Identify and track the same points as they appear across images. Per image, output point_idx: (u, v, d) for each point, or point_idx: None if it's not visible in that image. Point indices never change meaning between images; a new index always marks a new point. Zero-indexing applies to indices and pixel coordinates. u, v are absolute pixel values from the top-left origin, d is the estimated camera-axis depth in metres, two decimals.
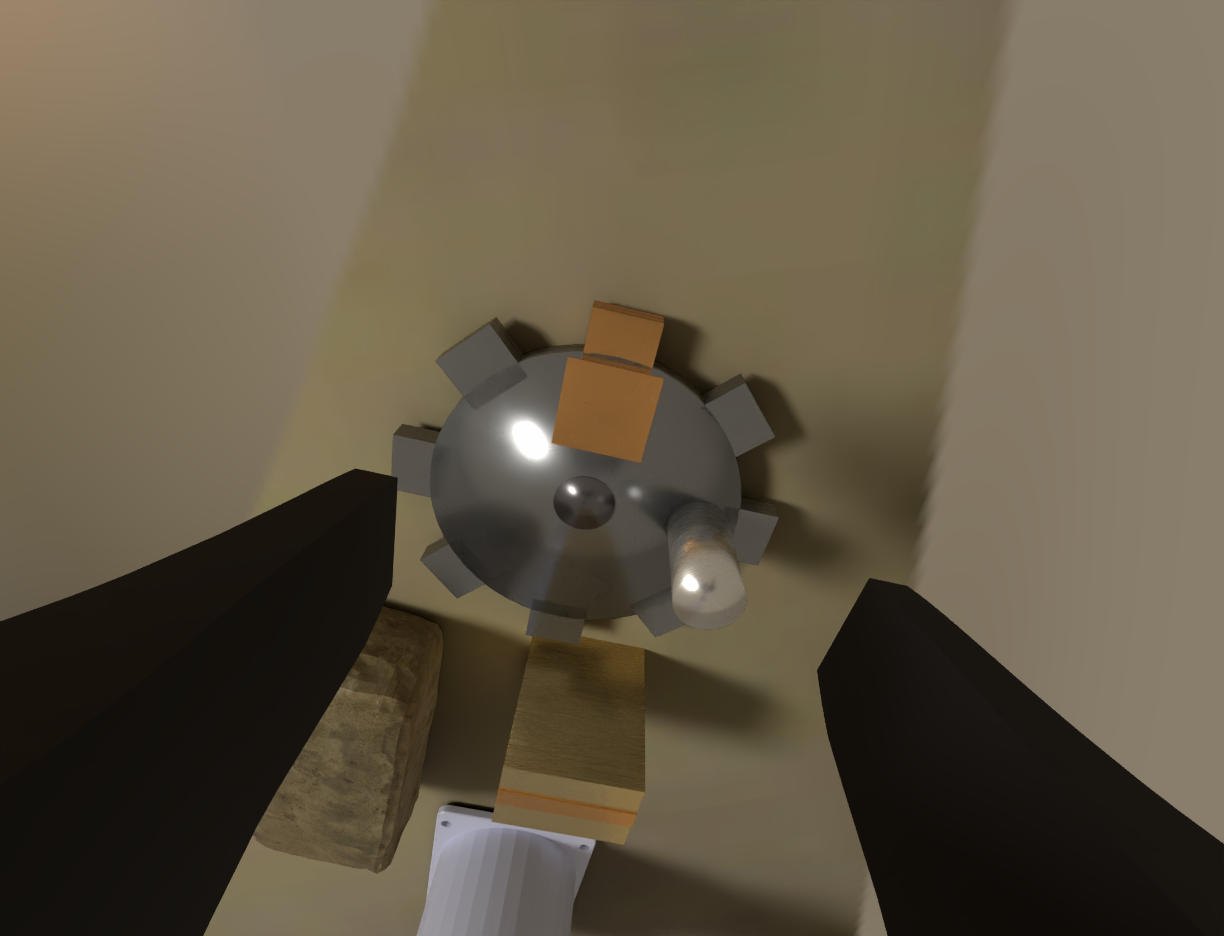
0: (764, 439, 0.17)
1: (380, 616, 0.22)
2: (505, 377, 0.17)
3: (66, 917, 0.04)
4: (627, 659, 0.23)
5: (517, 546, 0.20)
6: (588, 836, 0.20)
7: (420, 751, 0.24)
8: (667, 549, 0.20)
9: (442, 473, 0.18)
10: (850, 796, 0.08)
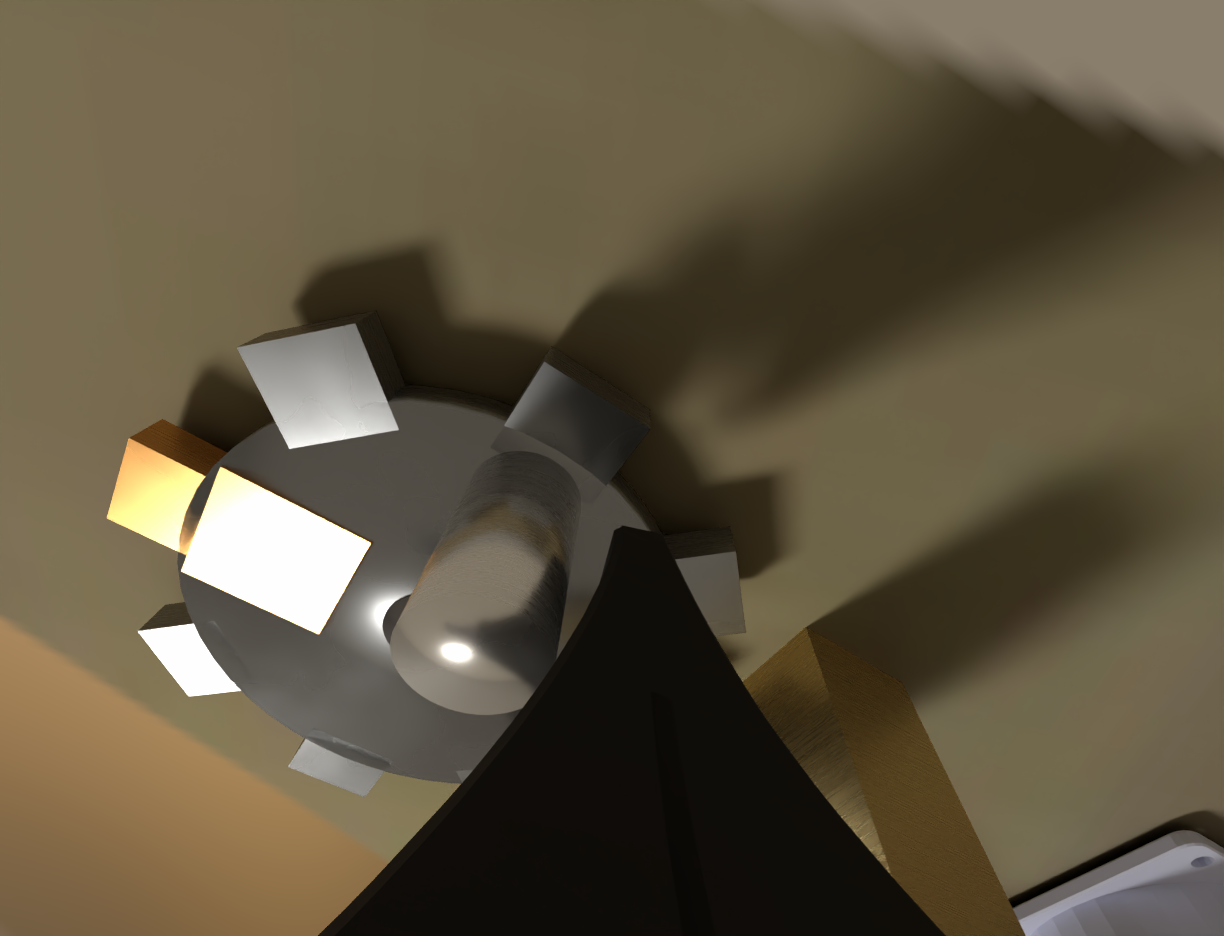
0: (355, 344, 0.09)
1: None
2: (214, 643, 0.12)
3: None
4: (792, 670, 0.13)
5: (488, 725, 0.13)
6: None
7: None
8: None
9: (350, 749, 0.14)
10: None
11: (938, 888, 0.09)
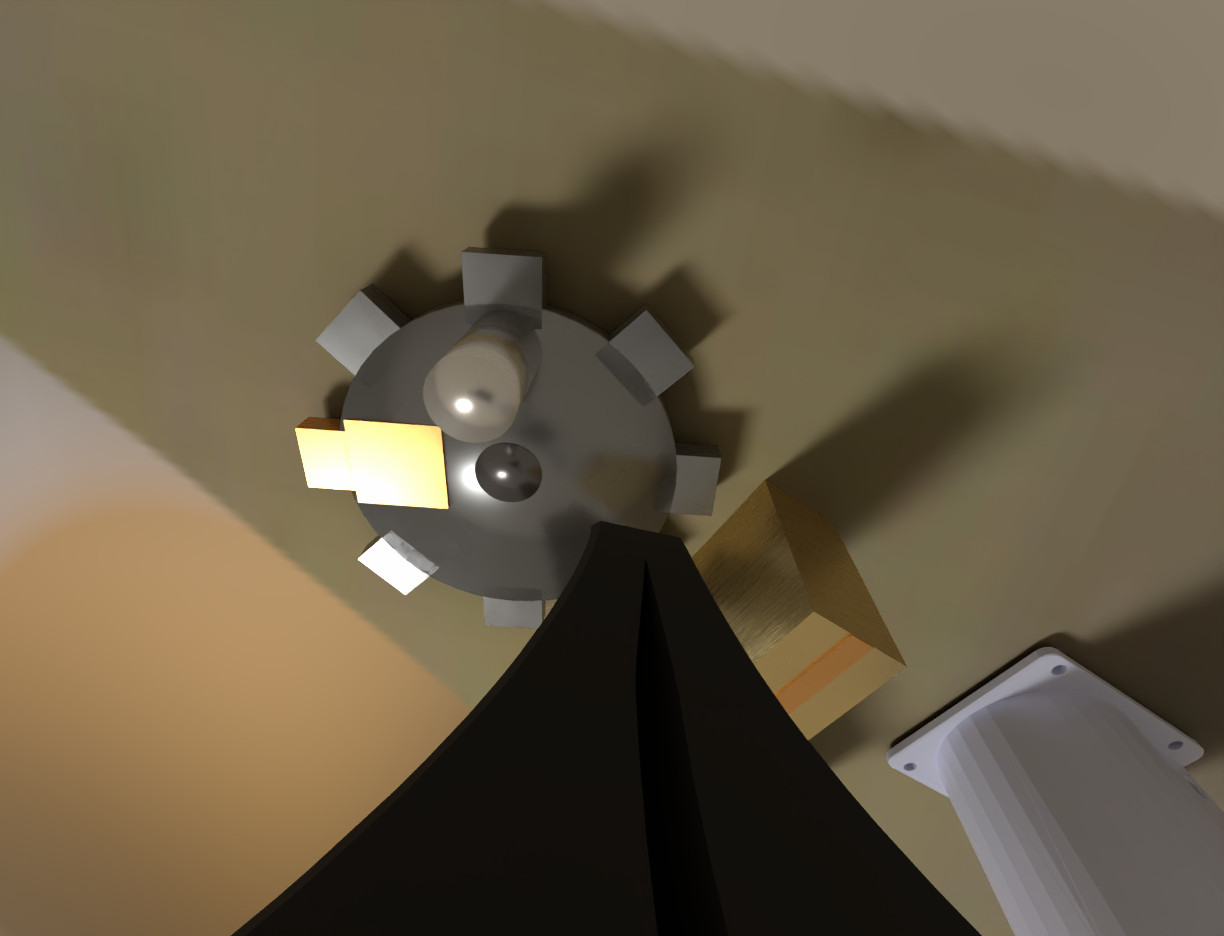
0: (366, 302, 0.15)
1: None
2: (398, 546, 0.19)
3: None
4: (754, 507, 0.18)
5: (582, 529, 0.18)
6: (865, 693, 0.15)
7: None
8: (546, 377, 0.16)
9: (512, 591, 0.20)
10: None
11: (834, 600, 0.15)
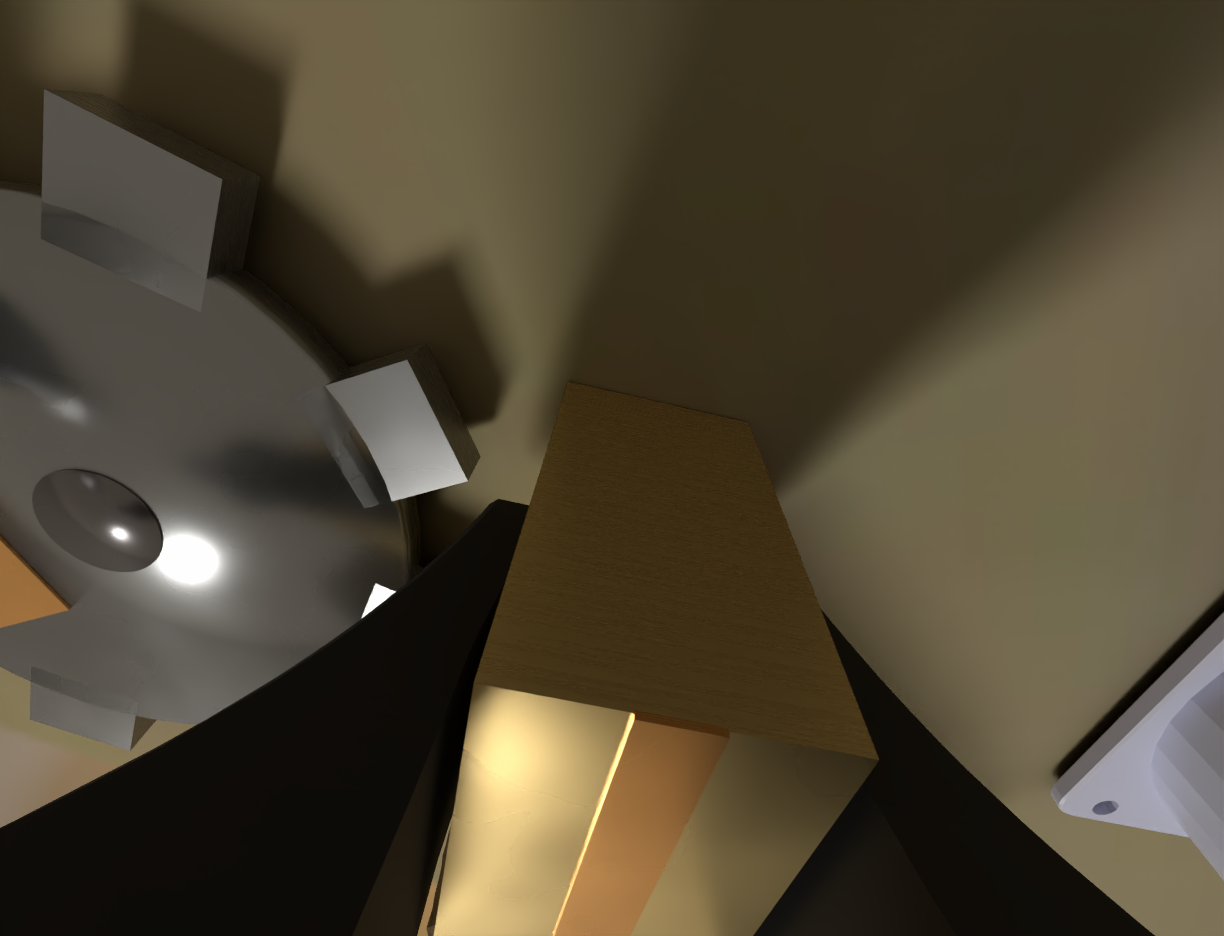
0: None
1: None
2: (61, 686, 0.12)
3: None
4: None
5: (280, 578, 0.10)
6: (801, 847, 0.05)
7: None
8: (8, 324, 0.08)
9: None
10: None
11: (627, 605, 0.05)
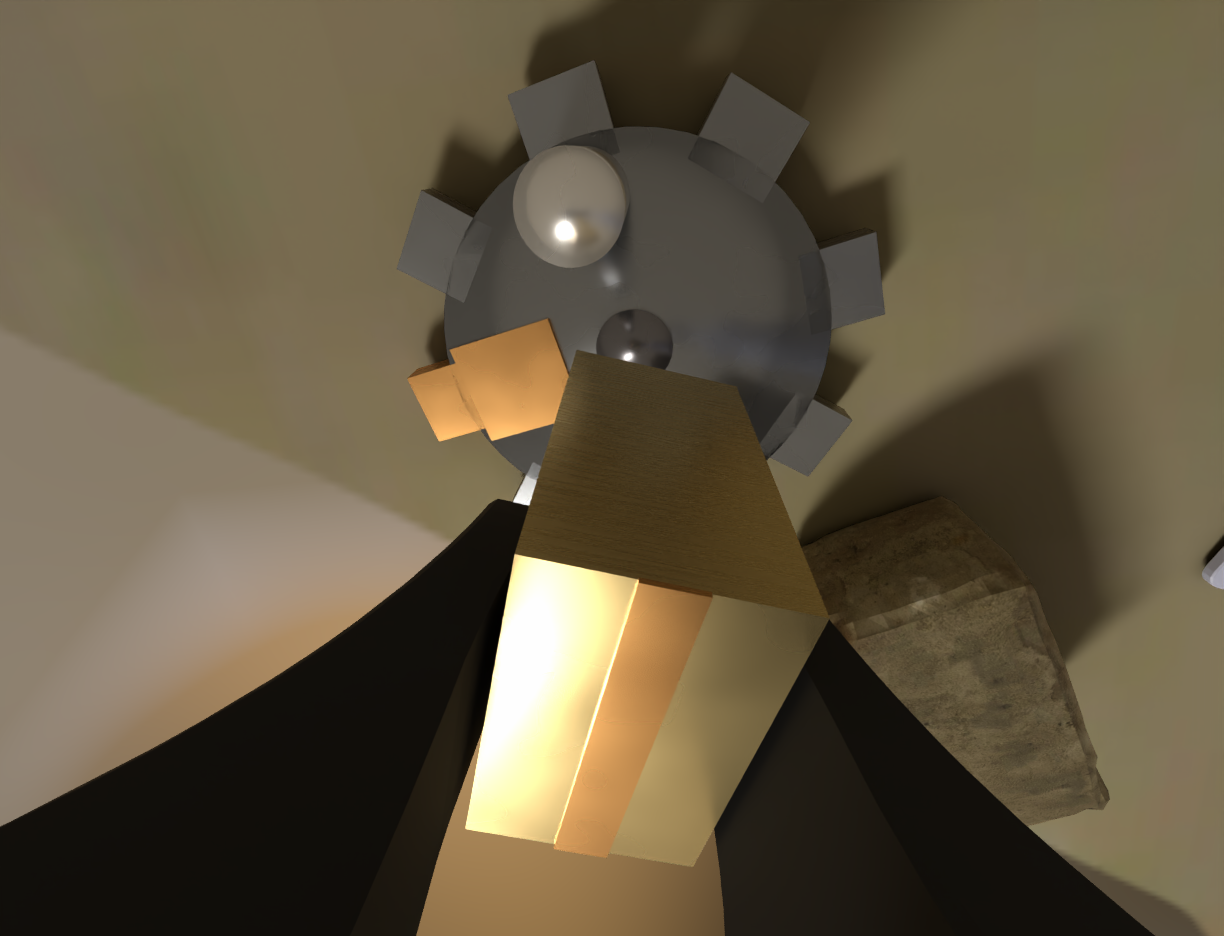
0: (431, 201, 0.14)
1: (878, 526, 0.18)
2: None
3: None
4: None
5: None
6: (771, 701, 0.06)
7: None
8: (641, 212, 0.14)
9: None
10: None
11: (632, 512, 0.06)
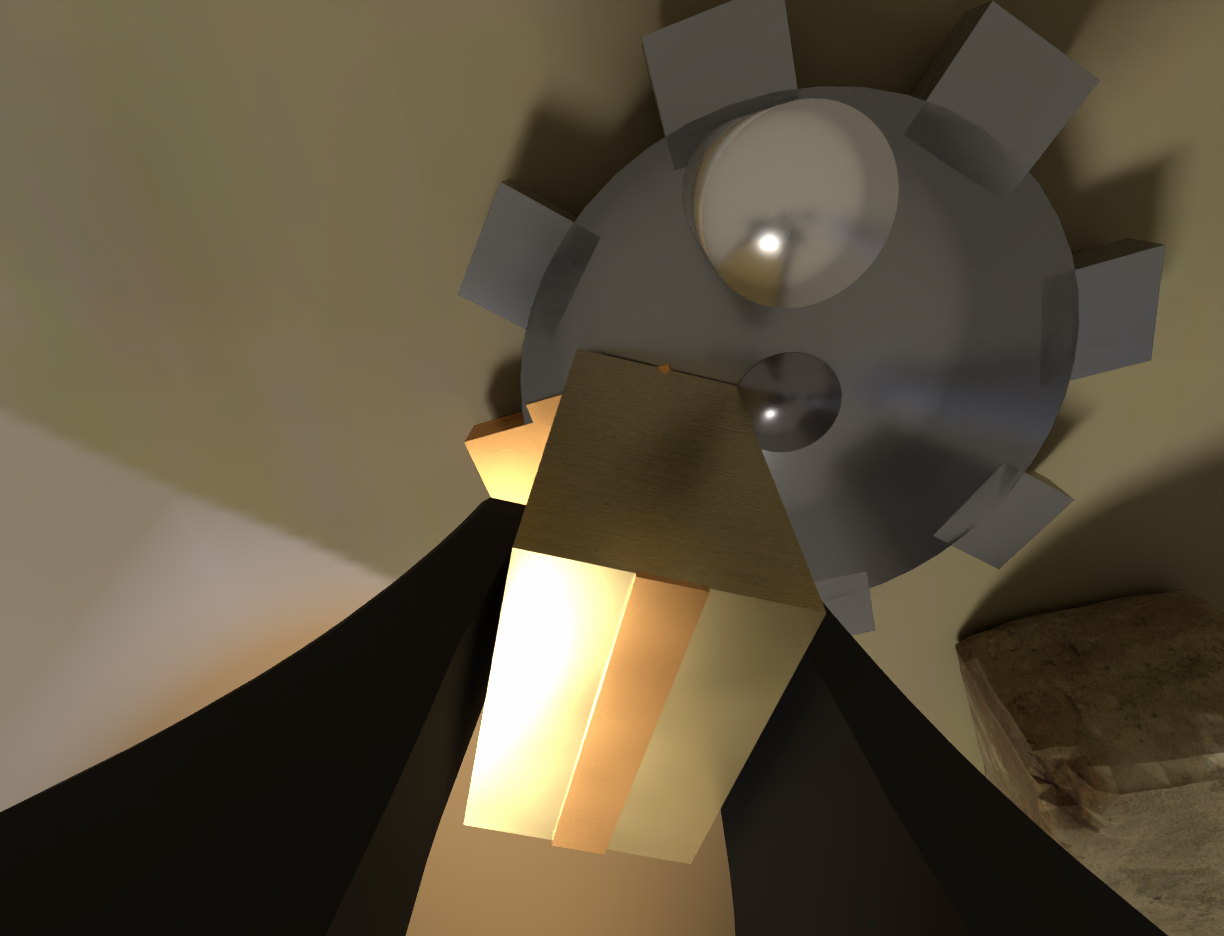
0: (514, 198, 0.09)
1: (1103, 621, 0.13)
2: None
3: None
4: None
5: (919, 457, 0.11)
6: (769, 697, 0.06)
7: None
8: None
9: (821, 587, 0.13)
10: None
11: (630, 507, 0.06)
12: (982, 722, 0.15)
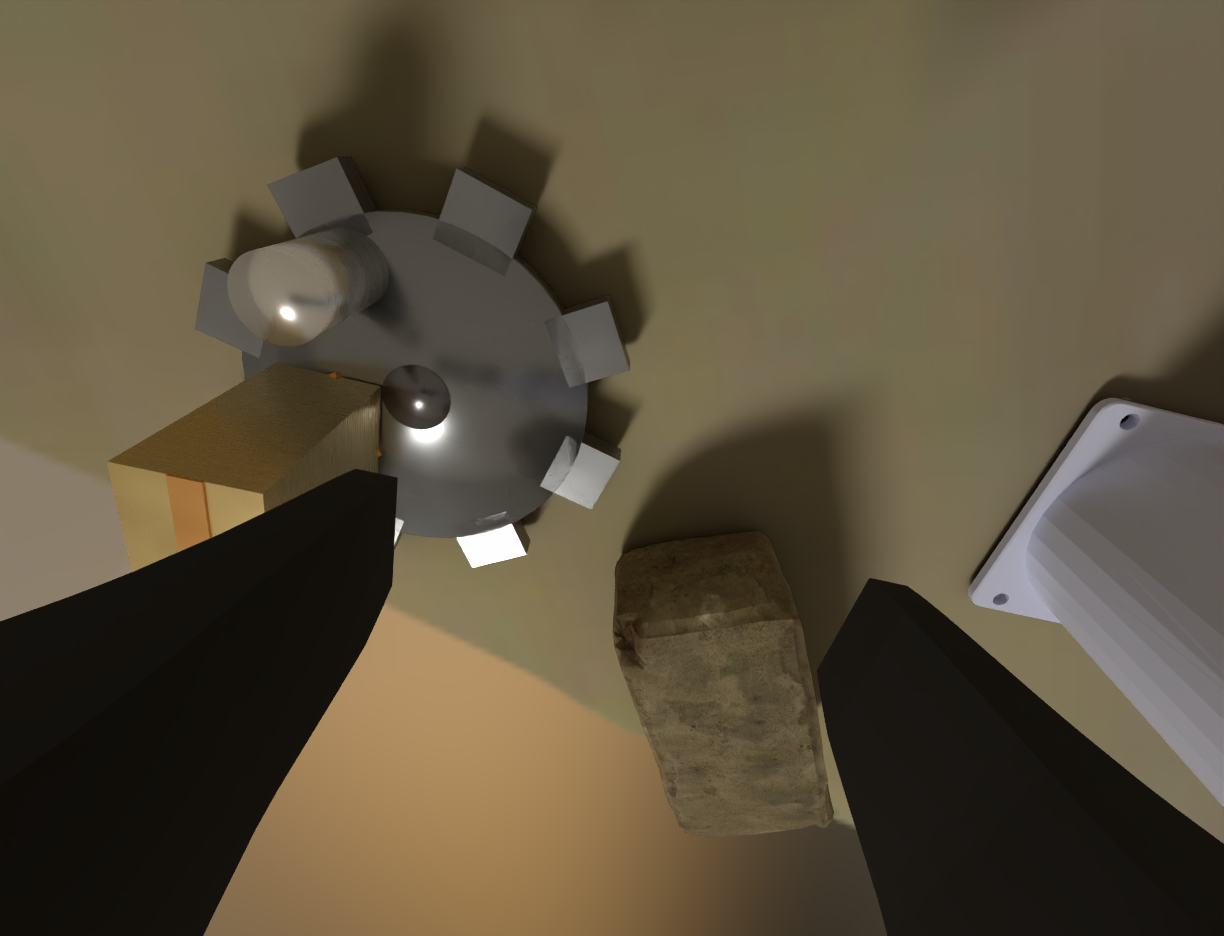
0: (216, 272, 0.16)
1: (699, 544, 0.19)
2: None
3: (66, 917, 0.04)
4: None
5: (512, 433, 0.17)
6: None
7: None
8: (401, 282, 0.15)
9: (480, 523, 0.19)
10: (850, 796, 0.08)
11: (200, 448, 0.12)
12: None
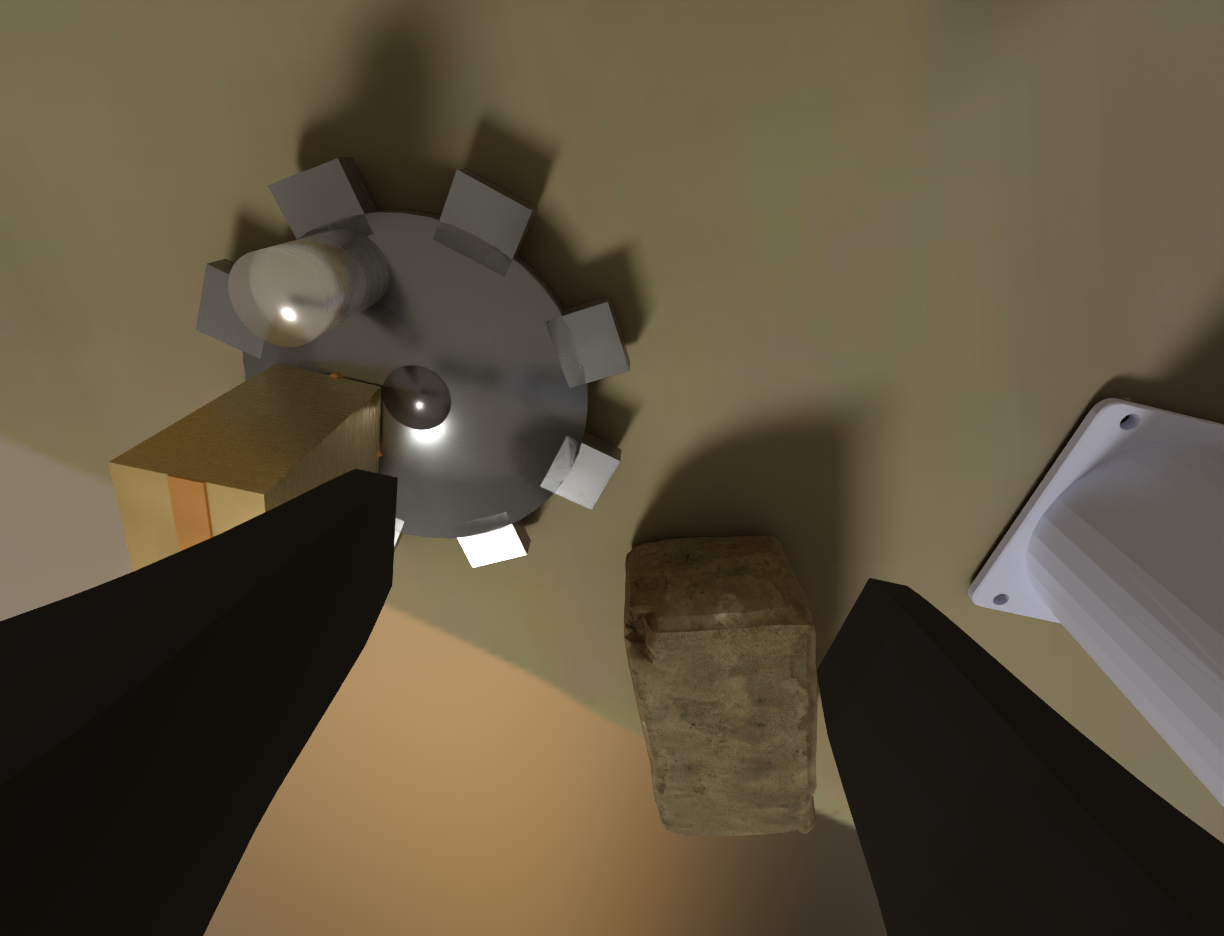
0: (217, 273, 0.16)
1: (714, 544, 0.19)
2: None
3: (66, 916, 0.04)
4: None
5: (512, 433, 0.17)
6: None
7: None
8: (401, 283, 0.15)
9: (480, 523, 0.19)
10: (850, 796, 0.08)
11: (201, 448, 0.12)
12: None
